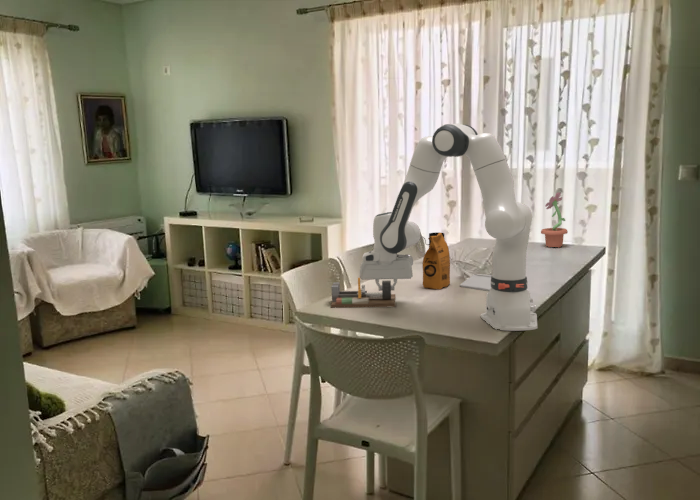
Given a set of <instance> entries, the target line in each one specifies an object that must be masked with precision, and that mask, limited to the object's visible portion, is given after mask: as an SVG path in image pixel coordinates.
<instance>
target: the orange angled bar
mask: <svg viewBox="0 0 700 500" xmlns="http://www.w3.org/2000/svg"><path fill="white" fill-rule="evenodd" d="M361 288H362V287H361V278H360V277H357V291H358V298H361Z"/></svg>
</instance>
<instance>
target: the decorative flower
mask: <svg viewBox="0 0 700 500" xmlns="http://www.w3.org/2000/svg"><path fill="white" fill-rule="evenodd" d="M562 200H563V197H562V195H561V192H556V193H555V195H554V196H551V197H550V198H549V200H548V202H546V203H545V207H546V208H545V209H546V210H549V209H552V208H553V207H554V210H555V211H554V212H553V213H552V215H551V217H552V218H553V217H555V216H556V215H557V219H558V220H557V221H558V223H556V224H555V225H553V227H548V228H542V229H541V231H540V234H542V235H544V238H545V246H546V247H547V246H548V247H547V248H550V247H558V248H562V247H563V245H564V237H565V236H564V235H567V234H568V229H567V228H564V227H561V225H562V221H563V222H566V218H565V217H562V213H561V210H560V208H559V206H558V205H559V202H561V201H562ZM561 246H562V247H561Z"/></svg>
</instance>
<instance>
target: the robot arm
mask: <svg viewBox="0 0 700 500" xmlns="http://www.w3.org/2000/svg"><path fill="white" fill-rule="evenodd" d="M497 139H498V138H496V136H495V135H493V133H489V132H482V133H478V132H477V130H476V129H475V128H474V127H472V126H471V125H467V124H461V123H448V124H444V125H441V126H440V127H439V128H437V129H436V130H435V131H434V133H433V135H432V136H429V135H428V136H423V137H421V138H420V139H419V141H418V142H417V145H416V146H415V149H414V151H413V153H412V157H411V160H410V163H409V166H408V170H407V174H406V176H405V179H404V181H403V184H402V186H401V189H400V191H399V192H398V195H397V197H396V200H395V203H394V206H393V209H392V211H389V212H382V213H378V214H376V215H375V216H374V219H373V228H372V229H373V230H372V235H373V236H372V237H373V240H374V242H373V243H374V244H373V250H370V251H367V252H364V253H363V255H362V261H361V263H360V268H359V278H360V280H361V281H362V280H363V281H365V280H367V281H368V280H374V281H375V284H376V286H377V287H378V291H382V284H380V280H392V281H393V283H392V284H391V291H395V287H396V285H397V283H398V280H405V279H406V280H409V279H410V280H411V279H412V278H413V276H414V275H413V265H414V258H413V256H412V255H410V254H408V253H407V254H398V253H401V252H403V251H404V250H407V249H409V248H411V247H413V246H416V245H417V243H419V242H420V241H421V238H422V237H421V235H422V232H421V229H420V227H419V226H418V225H417V223H415V222H413V221H409V219H410V216H411V214H412V212H413V209H414V206H415V205H416V204H417V202H418V201H419V200H421V198H423V197H424V196H425V195H427V194H428V193H429V192H431V191H432V190H433V189H434V188H435V186H436V184H437V182H438V180H439V177H440V174H441V169H442V167H443V163H444V162H445V159H446V158H447V157H448V158H450V157H451V158H452V157H454V158H458V157H462V156H463V157H466V158H468V160H469V161H470V163H471V166H472V169H473V173H474V175H475V178H476V181H477V183H478V186H479V189H480V193H481V198H482V203H483V209H484V210H483V211H484V216H485V219H484V228H485V230H486V233H488V235H489V236H490V237H492V238H493V239H495V244H494V247H493V251H492V255H491V256H492V257H491V265H492V266H491V268H492V270H491V272H492V273H491V275H492V276H491V287H492V288H491V289H490V291H487V293H486V294H485V296H486V297H485V312H483V313H481V314H480V318H481V319H482V320H483V321H484V320H485V321H486V322H485V321H484V322H485V323H487V324H488V325H489V324H490V325H491V326H492V327H493V328H495V329H494V330H497V329H500V330H499V331H508V332H509V331H512V332H515V331H516V332H517V331H519V332H520V331H521V332H522V331H532V330H536V329H538V316H537V315H538V314H537V313H536V304H531V303H533V302H534V298H533V297H532V298H531V292H530V291H529V290H528V285H529V284H528V277H527V276H526V275H527V274H526V273H527V250H528V245H529V239H530V232H531V225H532V221H533V212H532V210H531V208H530V207H529V206H528V205H526V204H525V203H522V202H519V201H517V200H516V195H515V189H514V188H515V182H514V181H515V180H514V179H513V176H512V173H511V169H510V167H509V163H508V161H507V158H506V155H505V153H504V151H503V148H502V147H501V145H500V143H499V141H498V140H497ZM490 325H489V326H490ZM491 326H490V327H491ZM492 327H491V328H492Z"/></svg>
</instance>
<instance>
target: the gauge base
mask: <svg viewBox="0 0 700 500" xmlns="http://www.w3.org/2000/svg"><path fill="white" fill-rule="evenodd" d="M340 283H341V282H338V281H337V282H333V283H332V285H331V287H330V288H331V304H330V308H332V309H333V308H334V309H335V307H336V308H337V309H339V308H395V307H396V293H391V299H369V297H366V294H361V298H358V294H357V293H358V290H346V291H345V290H341V287H340V286H341V285H340ZM367 291H368V290H365V293H368V292H367ZM361 293H362V292H361Z"/></svg>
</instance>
